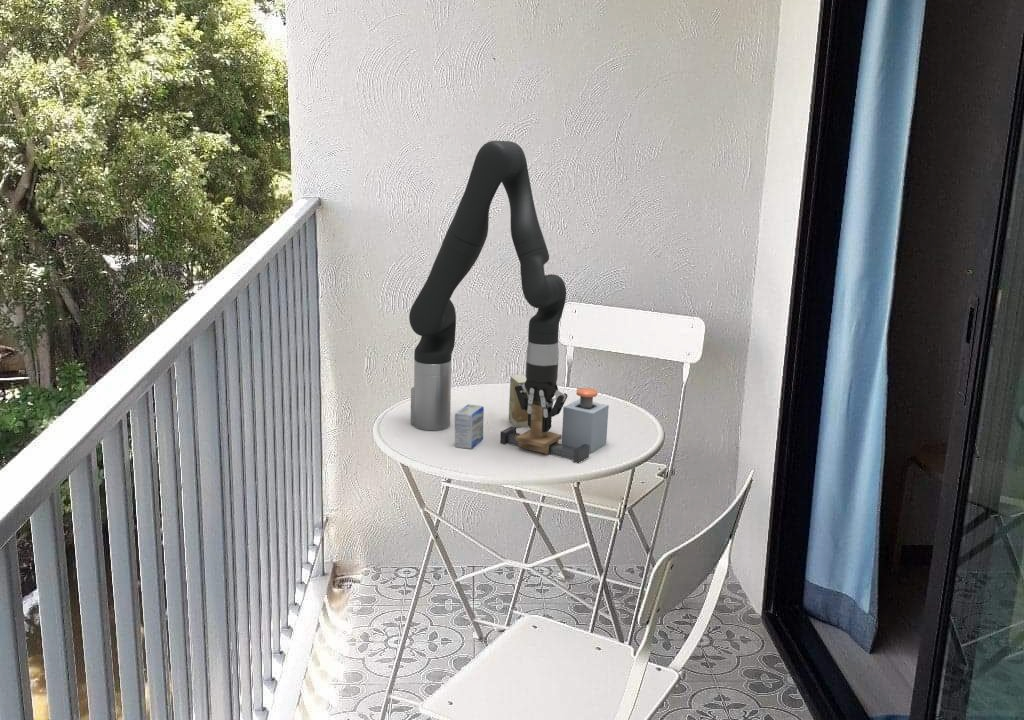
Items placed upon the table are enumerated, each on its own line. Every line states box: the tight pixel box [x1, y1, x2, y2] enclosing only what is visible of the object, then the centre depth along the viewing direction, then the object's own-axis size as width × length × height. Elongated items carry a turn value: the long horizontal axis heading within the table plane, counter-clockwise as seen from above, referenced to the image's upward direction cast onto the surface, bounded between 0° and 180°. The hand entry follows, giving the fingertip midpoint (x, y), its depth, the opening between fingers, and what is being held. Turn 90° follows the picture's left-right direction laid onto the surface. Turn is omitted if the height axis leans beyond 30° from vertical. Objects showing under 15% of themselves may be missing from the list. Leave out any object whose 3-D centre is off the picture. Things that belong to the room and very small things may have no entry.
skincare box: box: [507, 374, 529, 428], centre depth 257 cm, size 6×4×12 cm
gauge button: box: [576, 387, 598, 410], centre depth 242 cm, size 5×5×7 cm
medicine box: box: [454, 404, 485, 450], centre depth 242 cm, size 8×4×9 cm, turn 160°
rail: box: [499, 425, 590, 464], centre depth 240 cm, size 22×5×3 cm, turn 57°
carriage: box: [516, 402, 562, 455], centre depth 239 cm, size 8×8×11 cm
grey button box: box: [561, 398, 610, 454], centre depth 243 cm, size 8×8×10 cm
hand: (539, 429), depth 239 cm, fingers closed on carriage, 3 cm apart
